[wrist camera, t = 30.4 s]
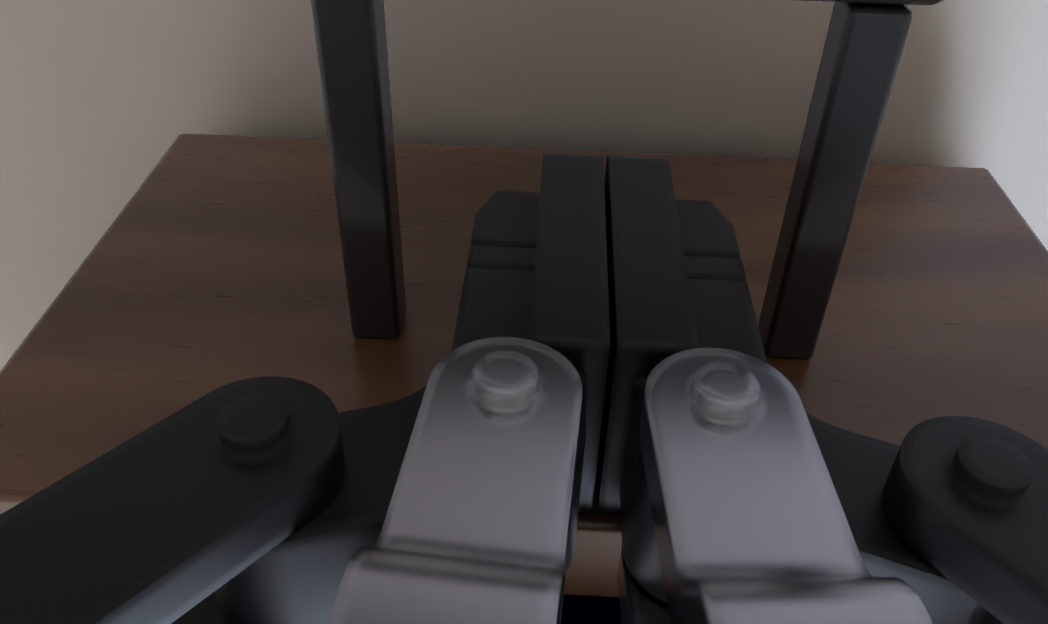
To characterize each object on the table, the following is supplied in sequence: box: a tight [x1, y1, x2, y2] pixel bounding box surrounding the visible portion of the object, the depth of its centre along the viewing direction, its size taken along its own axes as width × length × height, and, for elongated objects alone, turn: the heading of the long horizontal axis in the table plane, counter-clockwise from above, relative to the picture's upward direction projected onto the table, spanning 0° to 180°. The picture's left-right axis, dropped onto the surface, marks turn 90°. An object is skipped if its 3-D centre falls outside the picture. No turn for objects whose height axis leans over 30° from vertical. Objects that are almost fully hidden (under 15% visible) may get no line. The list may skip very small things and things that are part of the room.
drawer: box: [0, 0, 1048, 598], centre depth 15 cm, size 20×14×8 cm, turn 179°
